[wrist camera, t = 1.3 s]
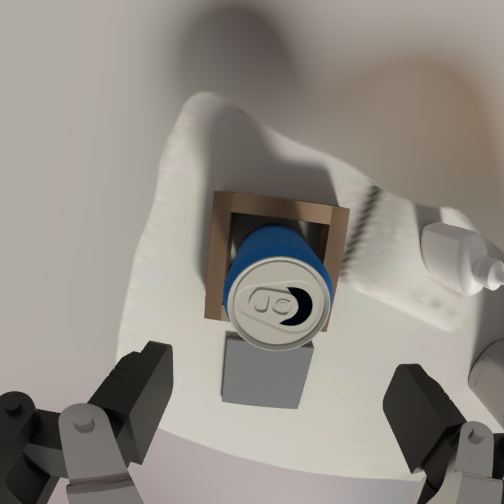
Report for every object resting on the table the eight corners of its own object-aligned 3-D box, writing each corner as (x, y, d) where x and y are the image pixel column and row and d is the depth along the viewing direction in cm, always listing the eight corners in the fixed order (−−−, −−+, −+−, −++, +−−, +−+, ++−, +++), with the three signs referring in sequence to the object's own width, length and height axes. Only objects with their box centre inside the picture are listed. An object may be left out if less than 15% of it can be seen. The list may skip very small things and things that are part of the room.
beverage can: (300, 293, 28) (321, 362, 16) (234, 283, 28) (213, 348, 16) (313, 228, 26) (350, 259, 14) (244, 217, 26) (227, 238, 15)
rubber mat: (313, 345, 29) (313, 348, 28) (296, 405, 31) (297, 408, 30) (228, 336, 29) (227, 339, 28) (222, 398, 31) (221, 401, 30)
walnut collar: (339, 206, 26) (349, 209, 22) (319, 315, 28) (326, 331, 25) (221, 191, 26) (214, 191, 22) (211, 303, 28) (204, 318, 25)
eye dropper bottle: (410, 269, 27) (479, 314, 15) (423, 217, 25) (502, 237, 14) (440, 276, 27) (509, 318, 15) (453, 227, 25) (529, 250, 14)
